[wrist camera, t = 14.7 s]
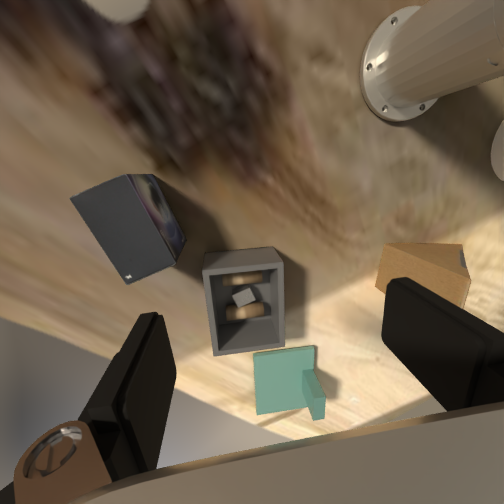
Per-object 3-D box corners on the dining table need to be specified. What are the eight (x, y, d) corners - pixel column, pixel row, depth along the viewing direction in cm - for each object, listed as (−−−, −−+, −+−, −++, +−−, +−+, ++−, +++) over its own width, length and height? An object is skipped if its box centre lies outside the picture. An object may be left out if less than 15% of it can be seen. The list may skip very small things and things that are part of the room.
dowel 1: (259, 264, 38) (262, 270, 36) (260, 278, 39) (262, 285, 37) (221, 268, 38) (221, 274, 36) (223, 282, 39) (223, 289, 36)
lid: (311, 342, 46) (328, 374, 38) (308, 398, 50) (324, 437, 43) (252, 349, 45) (258, 384, 37) (255, 406, 49) (262, 448, 42)
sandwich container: (448, 286, 46) (551, 338, 32) (373, 287, 44) (447, 343, 30) (463, 243, 43) (582, 278, 29) (384, 241, 41) (470, 279, 27)
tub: (272, 246, 38) (283, 262, 32) (274, 319, 43) (285, 346, 36) (204, 252, 37) (201, 270, 31) (214, 327, 42) (213, 356, 35)
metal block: (248, 282, 39) (249, 287, 37) (254, 293, 40) (255, 299, 38) (231, 289, 39) (231, 295, 37) (237, 301, 40) (238, 307, 38)
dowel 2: (261, 299, 41) (263, 303, 38) (262, 313, 41) (264, 318, 39) (225, 304, 40) (225, 308, 38) (227, 318, 40) (227, 323, 38)
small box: (190, 239, 37) (179, 265, 27) (150, 257, 37) (125, 288, 27) (154, 171, 33) (126, 171, 23) (110, 190, 33) (64, 198, 23)
